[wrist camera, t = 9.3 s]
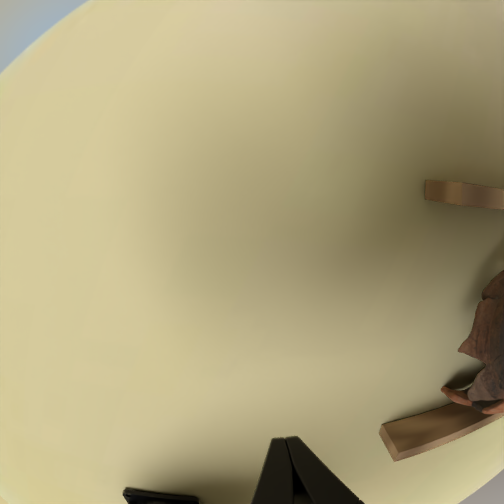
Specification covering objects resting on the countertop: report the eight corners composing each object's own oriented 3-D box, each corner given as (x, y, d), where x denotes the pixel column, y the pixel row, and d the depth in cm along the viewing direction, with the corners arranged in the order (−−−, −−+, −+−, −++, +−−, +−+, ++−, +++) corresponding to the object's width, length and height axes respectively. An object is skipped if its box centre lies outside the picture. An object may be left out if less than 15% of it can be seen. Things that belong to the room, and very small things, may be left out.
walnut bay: (378, 433, 17) (394, 461, 15) (425, 180, 14) (462, 182, 11) (508, 386, 18) (526, 402, 15) (553, 201, 14) (579, 206, 12)
